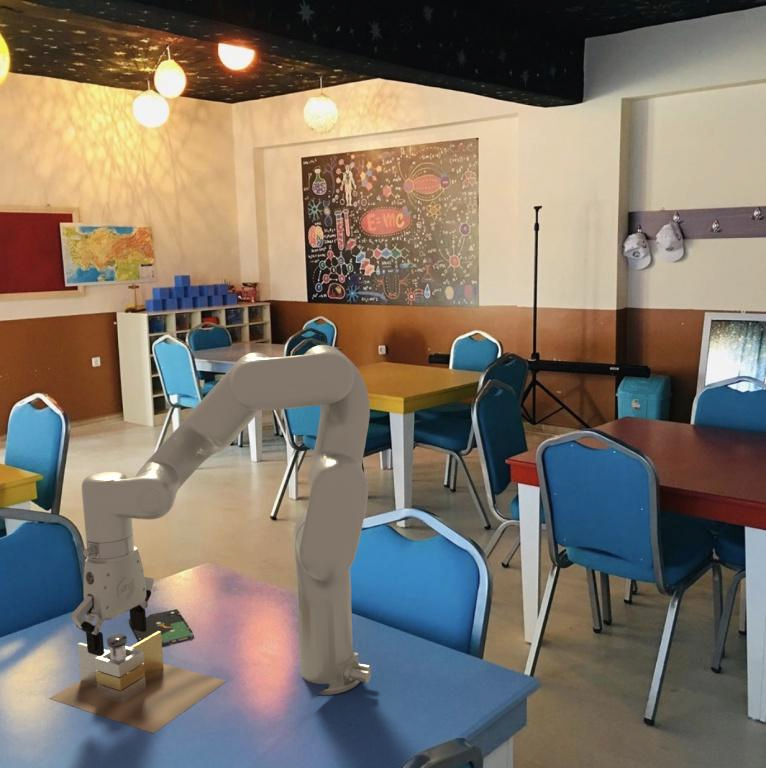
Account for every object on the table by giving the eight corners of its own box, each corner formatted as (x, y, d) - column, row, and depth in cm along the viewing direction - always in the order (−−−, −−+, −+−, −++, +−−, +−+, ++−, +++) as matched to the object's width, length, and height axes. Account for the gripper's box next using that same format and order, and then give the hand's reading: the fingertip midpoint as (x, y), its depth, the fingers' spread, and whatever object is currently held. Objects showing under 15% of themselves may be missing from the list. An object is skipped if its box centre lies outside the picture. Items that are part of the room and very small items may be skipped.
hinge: (173, 670, 151) (171, 634, 150) (121, 703, 140) (118, 665, 139) (123, 656, 157) (120, 621, 156) (69, 687, 146) (66, 649, 145)
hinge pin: (134, 690, 144) (130, 636, 143) (120, 699, 141) (116, 644, 140) (121, 686, 146) (117, 633, 144) (107, 695, 143) (102, 640, 141)
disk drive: (128, 631, 172) (143, 660, 159) (127, 619, 172) (142, 646, 159) (178, 620, 177) (197, 647, 164) (177, 608, 177) (196, 634, 164)
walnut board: (227, 689, 147) (226, 681, 147) (154, 741, 131) (153, 733, 131) (127, 660, 158) (127, 653, 158) (49, 706, 143) (49, 698, 142)
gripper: (85, 566, 130) (94, 668, 133) (163, 533, 145) (170, 625, 148) (52, 559, 134) (61, 659, 137) (132, 527, 149) (138, 618, 152)
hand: (118, 641), depth 142 cm, fingers open, 9 cm apart
